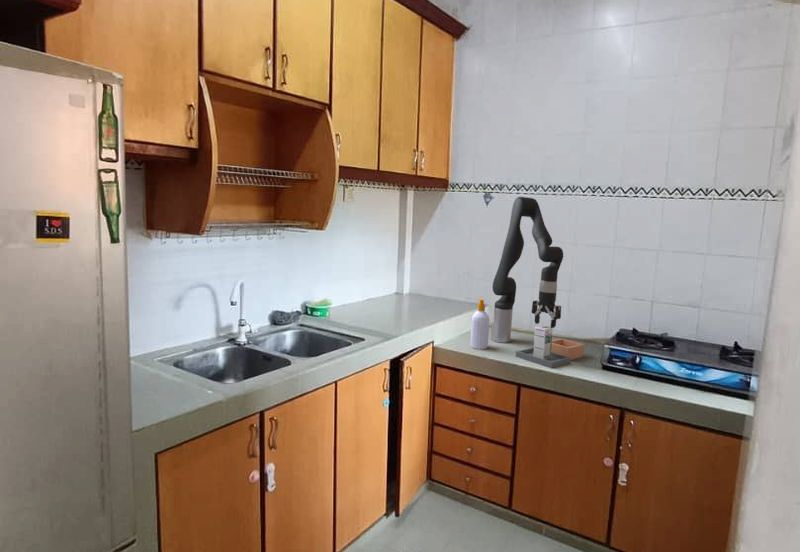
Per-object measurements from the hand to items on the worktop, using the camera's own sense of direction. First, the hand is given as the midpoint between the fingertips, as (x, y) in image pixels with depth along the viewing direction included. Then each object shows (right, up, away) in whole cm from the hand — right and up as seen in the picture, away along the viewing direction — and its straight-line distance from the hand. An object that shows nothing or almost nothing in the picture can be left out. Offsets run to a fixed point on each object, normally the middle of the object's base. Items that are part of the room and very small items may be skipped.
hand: (544, 325), depth 238 cm
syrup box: (-1, -15, +3) cm, 16 cm away
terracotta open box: (+12, -15, +11) cm, 22 cm away
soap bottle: (-27, -13, +21) cm, 36 cm away
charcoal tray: (0, -16, +2) cm, 16 cm away
